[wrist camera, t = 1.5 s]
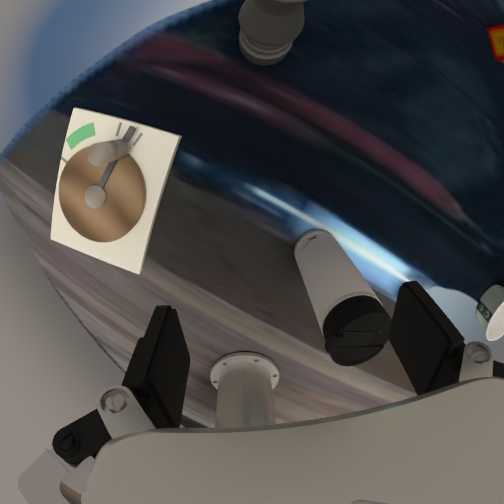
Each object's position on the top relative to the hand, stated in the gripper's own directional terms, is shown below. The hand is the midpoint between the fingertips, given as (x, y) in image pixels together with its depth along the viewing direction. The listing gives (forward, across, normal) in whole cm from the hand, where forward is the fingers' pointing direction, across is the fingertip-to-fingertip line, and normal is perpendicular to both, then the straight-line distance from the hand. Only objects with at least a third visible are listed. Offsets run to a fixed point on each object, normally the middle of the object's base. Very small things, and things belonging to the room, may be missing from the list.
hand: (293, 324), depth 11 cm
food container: (+27, -50, +27) cm, 63 cm away
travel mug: (+28, -7, +10) cm, 30 cm away
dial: (+26, +20, -3) cm, 33 cm away
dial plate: (+28, +21, -1) cm, 34 cm away
